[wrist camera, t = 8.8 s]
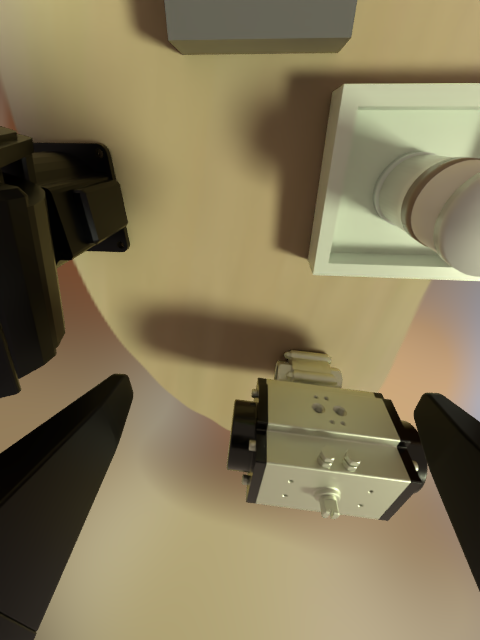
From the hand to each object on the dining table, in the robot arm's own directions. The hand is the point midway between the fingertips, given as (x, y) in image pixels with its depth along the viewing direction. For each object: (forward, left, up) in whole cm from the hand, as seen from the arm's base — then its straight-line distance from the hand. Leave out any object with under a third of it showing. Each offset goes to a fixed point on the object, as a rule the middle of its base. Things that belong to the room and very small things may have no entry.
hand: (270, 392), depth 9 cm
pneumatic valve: (+4, -10, -13) cm, 17 cm away
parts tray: (+8, +4, -13) cm, 16 cm away
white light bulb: (+8, +4, -12) cm, 15 cm away
